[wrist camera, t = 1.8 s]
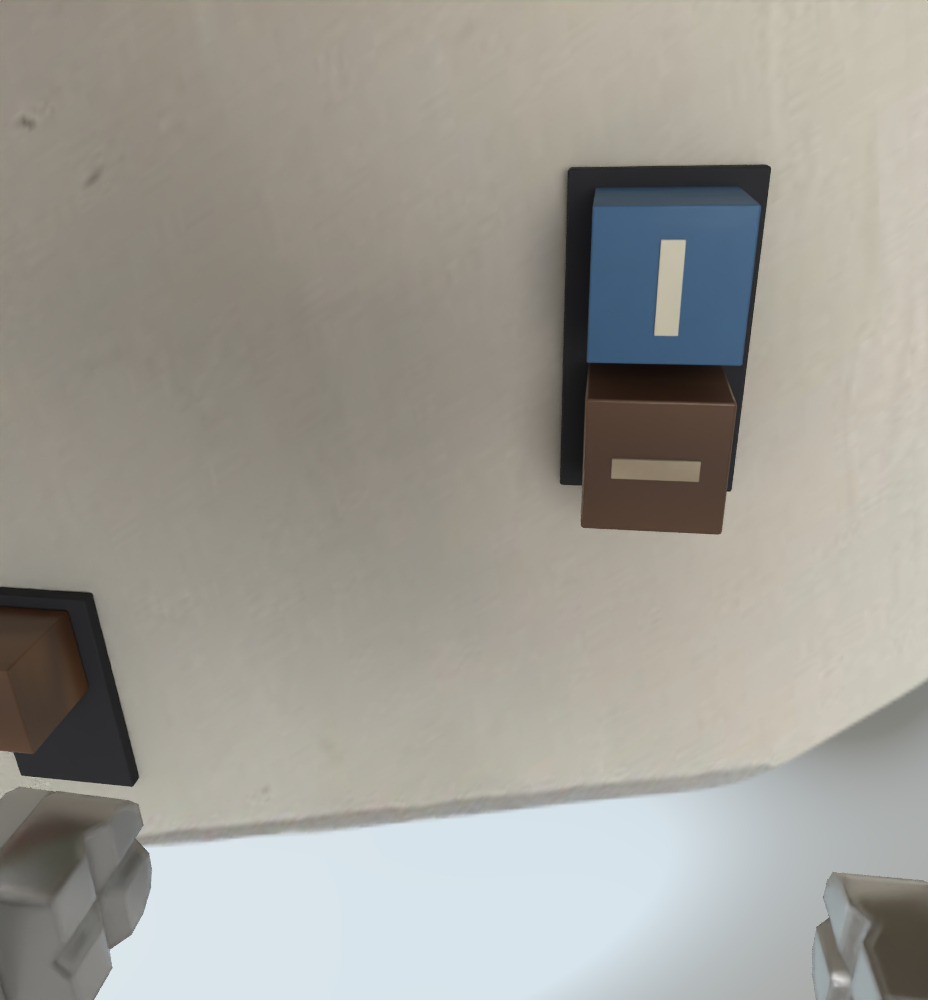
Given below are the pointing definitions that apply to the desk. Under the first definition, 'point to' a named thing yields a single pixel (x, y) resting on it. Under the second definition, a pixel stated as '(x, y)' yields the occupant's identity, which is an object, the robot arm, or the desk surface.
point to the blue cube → (671, 274)
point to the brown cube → (656, 447)
